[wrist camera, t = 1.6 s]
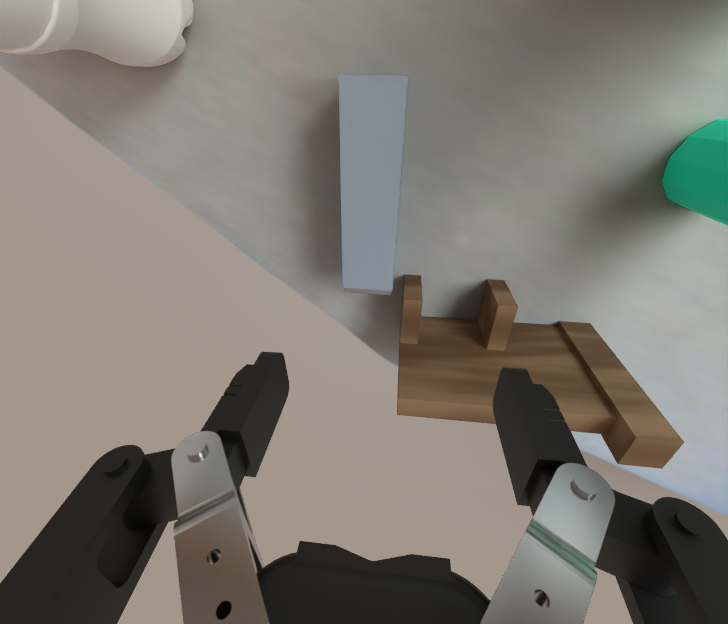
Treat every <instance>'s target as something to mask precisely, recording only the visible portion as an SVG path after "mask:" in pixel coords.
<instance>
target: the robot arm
mask: <svg viewBox="0 0 728 624" xmlns="http://www.w3.org/2000/svg"><path fill="white" fill-rule="evenodd" d="M229 385H230V386H229V387H228V388H227V389H226V391H225V392H224V396H222V397H221V399H220V401H219V402H218V404H217V406H216V407H215V409H214V410H213V412H212V414H211V415H210V417H209V419H208V420H207V422H206V423H205V425H204V427H203V428H202V430H201V431H200V432H197V433H194V434H192V435H190V436H188V437H186V438H185V439H184V440H183V441H182V442H180V443H179V444H178V446H177V447H176V448H175V449H171V450H166V451H161V452H157V453H151V454H146V455H145V454H144V452H143V451H142V449H141V448H139V447H138V446H135V445H125V446H121V447H118V448H115V449H113V450H111V451H109V452H108V453H106V454H104V455H103V456H102V457H101V458H99V459H98V460H97V461H96V462H95V463H94V465H93V466H92V467H91V468H90V470H89V471H88V472H87V473H86V475H85V476H84V477H83V479H82V480H81V481H80V483H79V484H78V485H77V486H76V488H75V489H74V490H73V491H72V493H71V494H70V496H68V498H67V499H66V500H65V502H64V503H63V504H62V505H61V507H60V508H59V510H58V511H57V512H56V513H55V514H54V516H53V517H52V518H51V519H50V521H49V522H48V523H47V525H46V526H45V527H44V528H43V530H42V531H41V532H40V534H39V535H38V536H37V537H36V539H35V540H34V541H33V542H32V544H31V545H30V546H29V548H28V549H27V550H26V551H25V553H24V554H23V555H22V556H21V558H20V559H19V560H18V562H17V563H16V564H15V565H14V567H13V568H12V569H11V571H10V572H9V573H8V574H7V576H6V577H5V578H4V579H3V581H2V582H1V583H0V624H117V622H118V620H119V618H120V616H121V614H122V613H123V610H124V609H125V606H126V605H127V602H128V601H129V599H130V596H131V595H132V593H133V590H134V589H135V587H136V585H137V583H138V581H139V579H140V577H141V575H142V573H143V571H144V569H145V567H146V565H147V563H148V561H149V559H150V557H151V555H152V553H153V551H154V549H155V547H156V545H157V543H158V541H159V539H160V537H161V535H162V533H163V531H164V529H165V527H166V525H167V523H168V522H169V521H174V520H178V521H177V522H176V523H175V524H174V540H175V549H176V558H177V567H178V576H179V586H180V595H181V604H182V613H183V622H184V624H583V623H584V620H585V617H586V613H587V610H588V607H589V604H590V601H591V597H592V594H593V591H594V588H595V584H596V579H597V572H596V571H594V569H595V567H597V568H599V569H601V570H603V571H605V572H607V573H610V574H612V575H614V576H616V579H617V582H618V584H619V587H620V590H621V592H622V595H623V597H624V600H625V603H626V605H627V608H628V611H629V613H630V616H631V619H632V621H633V624H728V540H727V538H726V537H725V535H724V534H723V532H722V531H721V530H720V528H719V527H718V525H717V524H716V523H715V522H714V521H713V520H712V519H711V518H710V517H709V516H708V515H706V514H705V513H704V512H702V511H701V510H700V509H698V508H696V507H695V506H693V505H692V504H690V503H688V502H685V501H683V500H680V499H677V498H672V497H664V498H660V499H658V500H657V501H656V502H655V503H654V504H653V505H652V504H649V503H646V502H643V501H641V500H638V499H635V498H633V497H630V496H627V495H624V494H622V493H619V492H617V491H615V490H613V489H611V487H610V485H609V484H608V483H607V482H606V480H605V479H604V478H603V477H602V476H600V475H599V474H598V473H597V472H595V471H594V470H592V469H590V468H588V466H587V465H586V463H585V461H584V458H583V456H582V454H581V452H580V450H579V448H578V446H577V444H576V442H575V440H574V438H573V435H572V433H571V431H570V429H569V427H568V425H567V423H565V419H564V417H563V415H562V412H560V408H559V406H558V404H557V402H556V400H555V398H554V396H553V395H552V394H551V393H550V392H549V391H548V390H547V389H546V388H545V387H544V386H543V385H542V384H533V382H532V380H531V377H530V375H529V373H528V371H527V369H525V368H510V367H503V368H502V369H501V371H500V375H499V379H498V382H497V386H496V389H495V393H494V397H493V414H494V418H495V421H496V425H497V429H498V433H499V437H500V440H501V444H502V448H503V452H504V456H505V459H506V463H507V467H508V471H509V474H510V478H511V482H512V485H513V490H514V493H515V497H516V501H517V504H518V505H525V506H530V508H531V511H532V515H533V518H532V520H531V522H530V524H529V526H528V527H527V529H526V531H525V533H524V536H523V538H522V539H521V542H520V544H519V546H518V547H517V549H516V551H515V553H514V556H513V557H512V559H511V561H510V564H509V565H508V567H507V569H506V571H505V573H504V575H503V577H502V579H501V581H500V583H499V585H498V587H497V589H496V591H495V593H494V595H493V597H492V599H491V601H490V600H489V599H488V598H487V597H486V596H485V595H484V594H483V593H482V592H481V591H480V590H479V589H478V588H477V587H476V586H475V585H473V584H472V583H471V582H469V581H468V580H467V579H465V578H463V577H462V576H460V575H458V574H456V573H454V572H452V571H451V566H450V559H447V558H437V557H429V556H422V555H413V554H411V555H406V556H400V557H395V558H390V559H384V560H378V561H370V560H367V559H365V558H363V557H361V556H358V555H356V554H354V553H352V552H349V551H347V550H345V549H343V548H340V547H338V546H336V545H329V544H321V543H312V542H304V541H300V542H299V547H298V550H297V552H296V553H291V554H288V555H286V556H283V557H281V558H279V559H277V560H274V561H273V562H271V563H270V564H268V565H267V566H265V567H264V565H263V562H262V558H261V556H260V552H259V550H258V547H257V544H256V541H255V537H254V534H253V531H252V527H251V524H250V520H249V517H248V514H247V510H246V507H245V503H244V500H243V497H242V493H241V489H240V485H241V483H242V480H243V478H244V476H250V477H256V475H257V472H258V470H259V467H260V465H261V462H262V460H263V457H264V455H265V452H266V449H267V447H268V444H269V442H270V440H271V437H272V435H273V432H274V430H275V427H276V424H277V422H278V419H279V417H280V415H281V412H282V409H283V407H284V404H285V402H286V399H287V396H288V392H289V380H288V375H287V370H286V364H285V360H284V356H283V354H282V353H276V352H262V353H261V354H260V355H259V357H258V358H257V360H256V362H255V364H254V365H248V364H247V365H246V366H245V367H243V368H242V369H241V370H240V371H239V372H237V373H236V375H235V376H234V378H233V379H232V381H231V383H230V384H229Z"/></svg>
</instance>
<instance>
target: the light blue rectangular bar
mask: <svg viewBox="0 0 728 624" xmlns="http://www.w3.org/2000/svg"><path fill="white" fill-rule="evenodd" d="M407 90H408V76H395V75H339V123H340V176H341V229H342V282H343V288H344V292H352V293H366V294H380V295H391V291H392V290H393V277H394V265H395V251H396V238H397V224H398V211H399V197H400V184H401V170H402V157H403V144H404V130H405V117H406V103H407Z"/></svg>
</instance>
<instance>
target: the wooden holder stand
mask: <svg viewBox="0 0 728 624" xmlns="http://www.w3.org/2000/svg"><path fill="white" fill-rule="evenodd" d="M517 308H518V306H517V304H516V302H515V300H514V298H513V296H512V294H511V292H510V290H509V288H508V287H507V285H506V283H505V281H504V280H487V283H486V287H485V292H484V296H483V300H482V305H481V309H480V313H479V317H478V320H465V319H451V318H436V317H421V309H422V286H421V276H416V275H404V287H403V299H402V311H401V323H400V343H399V372H398V402H397V415H405V416H415V417H427V418H437V419H448V420H459V421H469V422H481V423H491V424H496V421H495V418H494V414H493V397H494V393H495V389H496V386H497V382H498V379H499V375H500V371H501V369H502V368H503V367H510V368H525V369H527V371H528V373H529V375H530V377H531V380H532V382H533V384H542V385H543V386H544V387H545V388H546V389H547V390H548V391H549V392H550V393H551V394H552V395H553V396H554V398H555V400H556V402H557V404H558V406H559V408H560V412H562V415H563V417H564V419H565V423H567V425H568V427H569V429H570V431H576V432H587V433H598V434H601V435H602V437H603V439H604V440H605V442H606V444H607V446H608V448H609V449H610V451H611V453H612V455H613V456H614V458H615V460H616V462H617V463H618V464H623V465H633V466H643V467H653V468H663V467H664V466H665V464H666V463H667V462H668V461H669V460H670V459H671V457H672V456H673V455H674V454H675V453H676V451H677V450H678V449H679V448H680V447H681V446H682V444H683V443H684V441H683V440H682V439H681V438H680V436H679V435H678V434H677V432H676V431H675V430H674V429H673V427H672V426H671V425H670V424H669V422H668V421H667V420H666V419H665V417H664V416H663V415H662V414H661V412H660V411H659V410H658V408H657V407H656V406H655V405H654V403H653V402H652V401H651V400H650V398H649V397H648V396H647V395H646V393H645V392H644V391H643V390H642V388H641V387H640V386H639V384H638V383H637V382H636V381H635V379H634V378H633V377H632V376H631V374H630V373H629V372H628V371H627V369H626V368H625V367H624V366H623V364H622V363H621V362H620V360H619V359H618V358H617V357H616V355H615V354H614V353H613V352H612V350H611V349H610V348H609V347H608V345H607V344H606V343H605V342H604V340H603V339H602V338H601V336H600V335H599V334H598V333H597V331H596V330H595V329H594V328H593V326H592V325H591V324H590V323H576V322H561V321H559V323H558V326H555V325H540V324H525V323H513V321H514V318H515V315H516V311H517Z"/></svg>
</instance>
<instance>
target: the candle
mask: <svg viewBox="0 0 728 624" xmlns="http://www.w3.org/2000/svg"><path fill="white" fill-rule="evenodd" d="M662 184H663V187H664V190H665V193H666V196H667V199H669V200H671V201H673V202H675V203H677V204H679V205H680V206H682V207H685V208H687V209H689V210H692V211H694V212H697V213H699V214H702V215H704V216H706V217H709V218H711V219H714V220H716V221H719V222H721V223H723V224H726V225H728V119H722V120H716V121H714V122H712V123H710V124H709V125H707V126H705V127H703V128H702V129H700V130H698V131H696V132H695V133H693V134H691V135H689V136H688V137H687V138H686V139H685V141H684V142H683V143H682V144H681V145H680V146H679V148H678V149H677V150H676V151H675V152H674V153H673V154H672V156H671V157H670V158H669V160H668V163H667V166H666V169H665V172H664V175H663V179H662Z"/></svg>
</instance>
